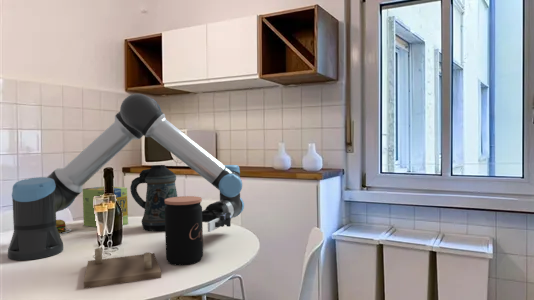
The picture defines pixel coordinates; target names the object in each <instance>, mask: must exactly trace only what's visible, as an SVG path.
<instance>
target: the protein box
mask: <svg viewBox="0 0 534 300" xmlns="http://www.w3.org/2000/svg"><path fill="white" fill-rule="evenodd" d="M113 187H114V194H115V195H116V199H117V202H118V204H119V205H120V207H121V209H122V213H123V225H122V226H125V225H129V212H128V211H129V210H128V208H129V207H128V206H129V205H128V188H127V187H121V186H120V187H119V186H113ZM103 194H104V186H97V187H96V186H95V187H87V188H83V191H82V209H83V210H82V212H83V226H86V227H91V228H97V227H96V221H95V214H94V208H93V197H94V196H100V195H103Z"/></svg>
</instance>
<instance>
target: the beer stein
mask: <svg viewBox="0 0 534 300" xmlns="http://www.w3.org/2000/svg"><path fill="white" fill-rule="evenodd" d="M176 180H177V175H176V173H175V172H173V171H171V170H170V169H169V168H167V166H166V165H165V164H156V165H151V167H150V168H148V169H143V170H141V172H140V173H139V176H137V177H136V178H134V179H132V181H131V184H130V187H129V189H130V195H131V197H132V199H133V200H134V201H135V203H137V204H138V205H139V206H140V207H141V208H142V209H144V212H143V217H142V219H141V226H142V230H143V231H145V232H150V233H162V232H165V207H166V204H165V199H167V198H172V197H178V192H177V191H178V190H177V186H176ZM140 184H146V195H145V200H144V199H143V198H142V197H141V196H140V195H139V193H138V186H139V185H140Z"/></svg>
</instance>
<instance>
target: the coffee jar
mask: <svg viewBox="0 0 534 300" xmlns="http://www.w3.org/2000/svg"><path fill="white" fill-rule="evenodd" d="M202 200H203V198H202V197H200V196H195V195H194V196H193V195H189V196H188V195H185V196H177V197H172V198H167V199H165V204H166V207H165V233H164V234H165V235H164V236H165V240H164V241H165V259H166V261H167V263H168V264H170V265H173V266H190V265H194V264H196V263H199V262H201V260H202V258H203V256H204V240H203V238H204V237H203V236H204V234H203V233H204V232H203V222H202V211H203V207H202V204H201V203H202Z"/></svg>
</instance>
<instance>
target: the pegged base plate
mask: <svg viewBox="0 0 534 300" xmlns="http://www.w3.org/2000/svg"><path fill="white" fill-rule="evenodd" d="M161 278H162V270H161V268H160V265H159V263H158V260H157V257H156V254H155V253H153V252H144V253H143V254H137V255H136V254H134V255H128V256H127V255H125V256H119V257H109V258H103V249H102V247H101V248H100V247H99V248H95V249H94V259H93V260H92V259H91V260H87V264H86V269H85V275H84V280H83V289H88V288H89V287H90V288H96V287H103V286H110V285H111V286H112V285H118V284H122V283H123V284H124V283H132V282H137V281H138V282H140V281H145V280H152V279H161Z"/></svg>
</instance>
